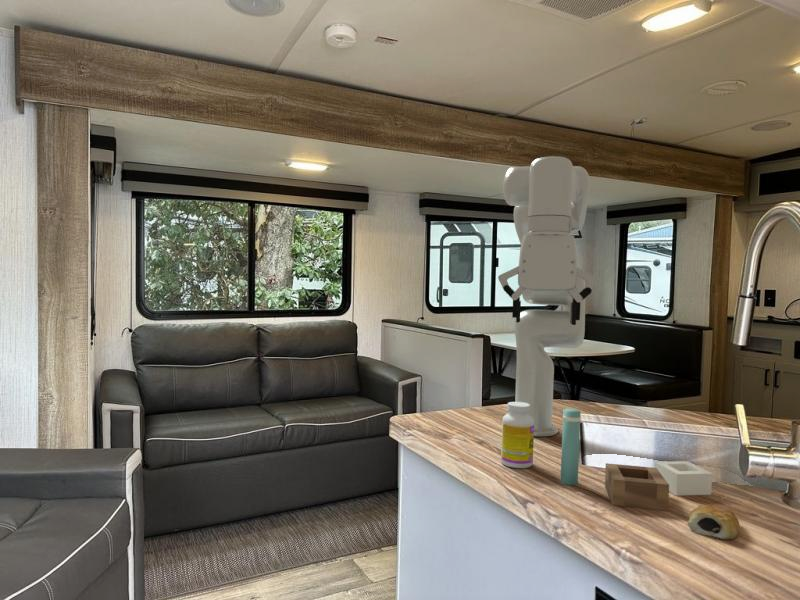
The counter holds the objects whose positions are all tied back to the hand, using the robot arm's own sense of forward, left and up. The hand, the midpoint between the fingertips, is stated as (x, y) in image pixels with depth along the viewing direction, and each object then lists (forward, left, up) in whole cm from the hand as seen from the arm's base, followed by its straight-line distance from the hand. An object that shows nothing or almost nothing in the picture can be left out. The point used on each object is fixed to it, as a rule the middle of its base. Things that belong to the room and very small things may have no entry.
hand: (545, 323), depth 100 cm
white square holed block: (-11, +27, -31) cm, 43 cm away
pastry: (+7, +27, -32) cm, 42 cm away
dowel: (-8, +6, -31) cm, 33 cm away
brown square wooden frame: (-3, +17, -31) cm, 36 cm away
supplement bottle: (-16, -4, -31) cm, 35 cm away
